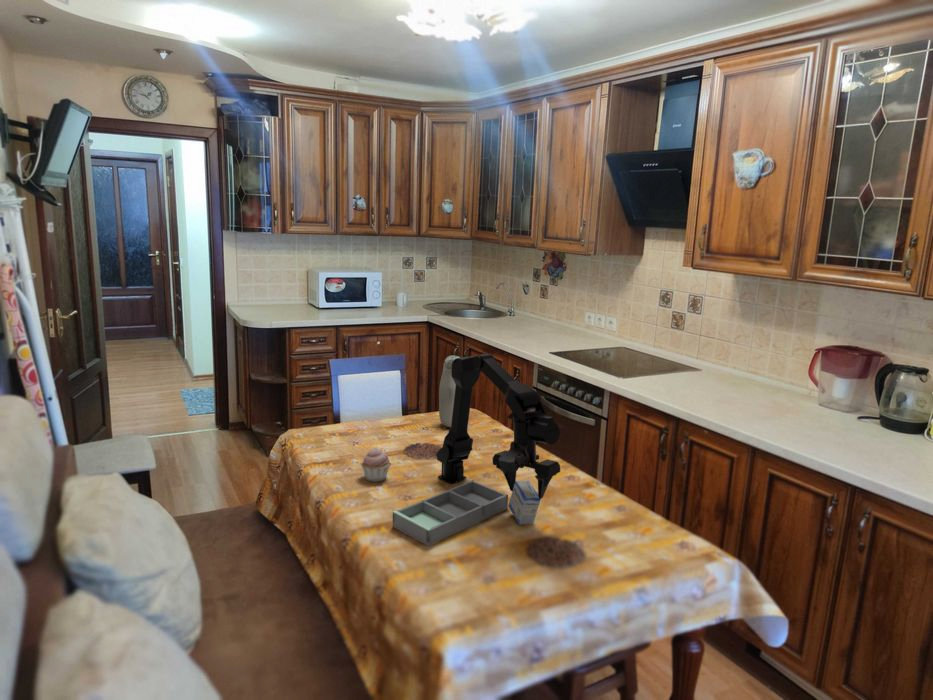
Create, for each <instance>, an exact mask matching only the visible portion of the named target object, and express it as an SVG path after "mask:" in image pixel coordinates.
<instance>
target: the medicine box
mask: <svg viewBox="0 0 933 700" xmlns="http://www.w3.org/2000/svg"><path fill="white" fill-rule="evenodd" d="M541 500H542V498H541V499H539V495H538V491H536V489H535V488H534V486H533V485H532V484H531V482H530V480H516V481H515V484H514V488H513V491H511V495H510V498H509V501H508V508H509V510H510V511H511V513H512V515H513V516H514V518H515V521H517V524H518V525H519V526H520V525H522V526H523V525H524V526H525V525H533V524H534V523H535V519H536V516H537V514H538V513H537V512H538V509H539V507H540V503H541Z"/></svg>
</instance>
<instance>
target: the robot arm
mask: <svg viewBox="0 0 933 700" xmlns="http://www.w3.org/2000/svg"><path fill="white" fill-rule="evenodd" d="M481 372H482V374H483V375H484V376H485V377H486V378H487V379H488V381H490V382H491V383H492V384H493V385H494V386H495V387H496V388H497V389H498V390H499V391H500V392H501V393H502V394H503V396H504V402H505V404H506V405H507V407H508V408H509V410H510V411H511V413H510V414H509V415H508V416H507V418H508V419H509V420H513V421H512V422H513V423H512V424H513V440H512V441H510V446H509V449H508V450H502V451H499V452H497V453H494V455H493V456H492V465H494V466H495V468H496V469H498V470H500V471H501V472H502V474H503V475H504V477H505V481H506V482H507V485H508V488H509V490H510V491H511V492H512V491H513V488H514V484H515V481H517V471H518V470H519V469H524V468H525V467H526V468H530V469H533V470H534V473H535V475H534V477H535V479H536V480H537V494H538V495H539V499H541V500H542V499H543V497H544V495H545V493H546V491H547V488H548V486H549V485H550V483H551V480H552V479H553V477H554V476H557V475H558V474H559V473H561V465H560V463H559V461H556V460H551V459H544V460H542V461H537V460H539V459H540V455H539V454H537V445H539V444H540V443H542V444H546V445H549V446H551V445H554V444H556V443H557V442H558V440H559V439H560V436H561V429H560V427H559V424H558V423H557V422H555V421H554V419H555V417H553V416H547V415H548V414H547V411H546V408H545V406H544V405H543V404H542V401H541V399H540V397H539V394H538V392H537V391H536V390H535V389H533V388H532V387H530V386H529V385H528V384H525V383H521V382H519V381H518V380H516V379H515V378H514V377H513V376H512V375H511V374H510V373H509V372H508V371H507V370H506V369H505V368H504V367H503V365H501V364H500V363H499V362H498V361H496V360H495V357H494V356H493V354H490V353H483V354H477V355H471V356H470V355H469V356H465V357H464V356H463V357H460V358H456V359H455V360H453V362H452V378H453V380H454V382H455V384H456V388H455V397H454V406H453V414H452V423H451V428H450V429H449V431H448V432H447V433H446V435H445V437H444V439H443V443H442V447H441V448H440V449H439V450H438V451H437V452H436V453H435V454H436V460H437V461H438V462H440V463H441V474H440V475H438V476H437V479H439V480H441V481H444V482H446V483H448V484H450V485H453V484H456V483H458V482H461V481H463V480H466V479H467V476H466V475H464V471H465V468H464V467H465V466H464V460H468V459H469V457H470V455H471V452H472V451H473V442H474V440H473V438H472V437H470V434H469V432H468V429H469V419H470V411H471V402H472V396H473V388H474V386H475V384H476V383H477V382H478V380H479V379H480V375H481Z"/></svg>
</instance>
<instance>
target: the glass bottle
mask: <svg viewBox="0 0 933 700" xmlns="http://www.w3.org/2000/svg"><path fill="white" fill-rule="evenodd" d="M456 358H461V357H460V356H458V355H455V354H453V355H449V356H447V357H446V358H445V359H444V361H443V367H442V373H441V376H440V377H441V378H440V381H439V389H438V394H439V395H438V399H439V401H438V402H439V404H438V405H439V406H438V414H439V420H440V422H441V424H442V425H444V426H445V427H447V428H450V429H451V423H452V414H453V406H454V397H455V388H456V384H455V382H454V380H453V378H452V362H453V360H455V359H456Z"/></svg>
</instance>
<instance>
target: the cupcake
mask: <svg viewBox="0 0 933 700" xmlns="http://www.w3.org/2000/svg"><path fill="white" fill-rule="evenodd" d="M389 459H390V458H389V457H388V455H387V454H386V452H384V451H382V450H380V449H379V448H378V447H377V446H375V447H373V448H371V449H370V450H369V451H368V452H367V454H365V456H364V458H363V460H362V462H360V466H361V468H362V470H363V474H364V478H365V480H366V481H368V482H371V483H372V482H373V483H378V482H379V483H380V482H383V481H384V480H385V481H386V479H387V475H388V473H389V469H390V467H391V466H392V462H390V460H389Z"/></svg>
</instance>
